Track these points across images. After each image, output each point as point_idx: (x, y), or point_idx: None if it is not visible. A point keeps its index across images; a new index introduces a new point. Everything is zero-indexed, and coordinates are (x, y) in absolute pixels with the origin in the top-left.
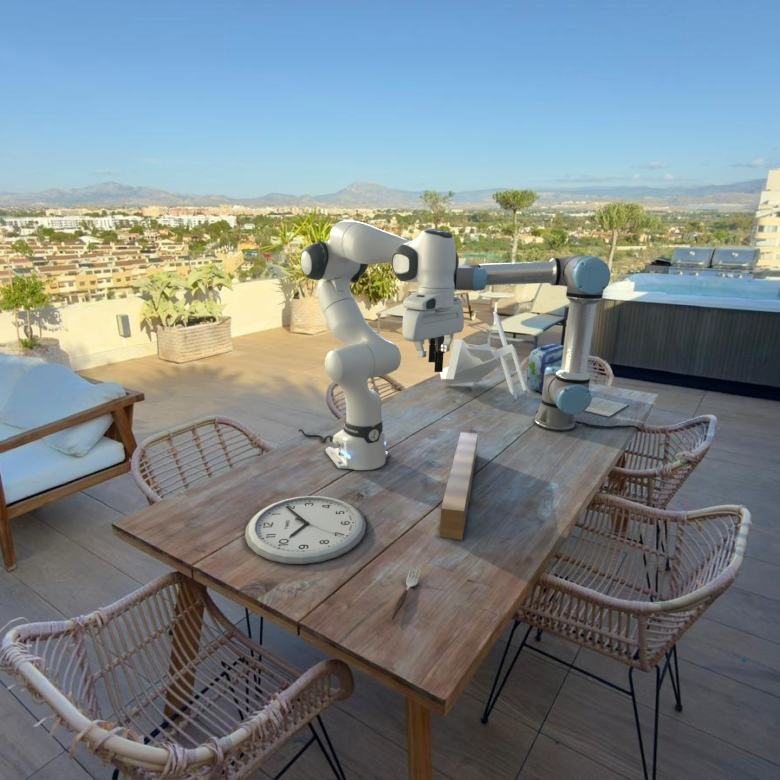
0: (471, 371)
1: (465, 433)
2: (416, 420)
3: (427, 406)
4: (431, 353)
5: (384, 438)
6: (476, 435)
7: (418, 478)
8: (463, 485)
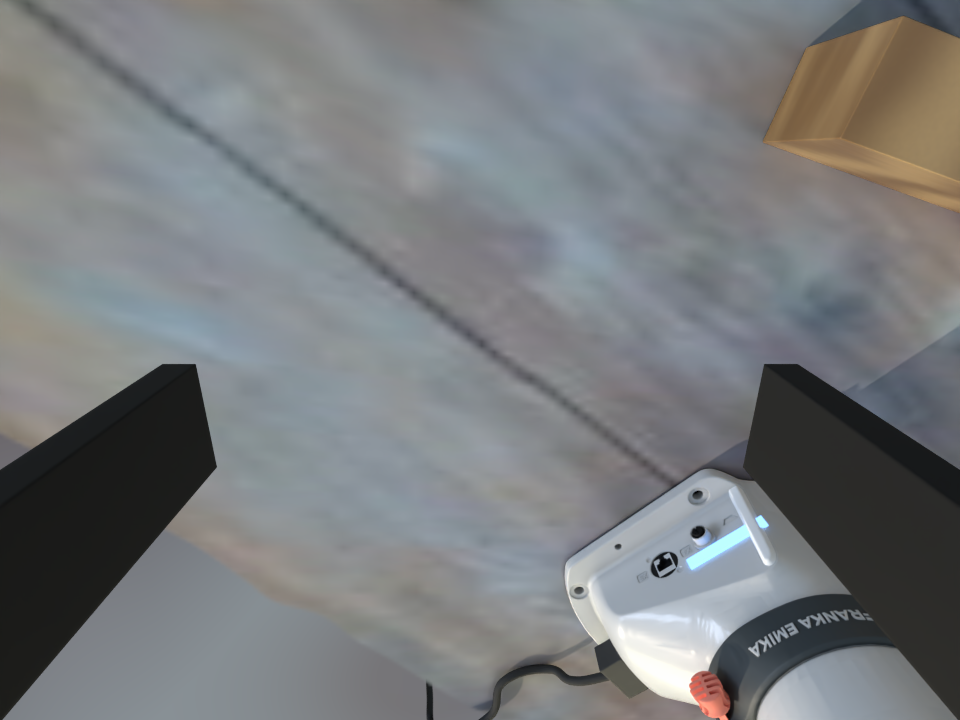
0: None
1: (871, 111)
2: (280, 301)
3: (17, 201)
4: (121, 524)
5: (767, 539)
6: (929, 35)
7: (948, 376)
8: None
